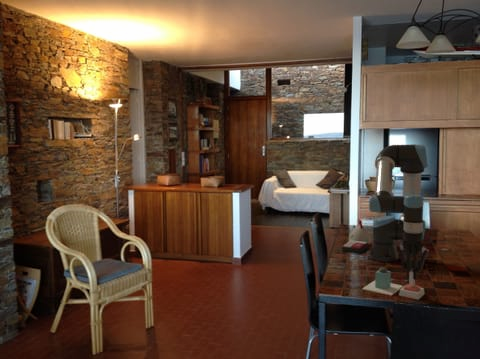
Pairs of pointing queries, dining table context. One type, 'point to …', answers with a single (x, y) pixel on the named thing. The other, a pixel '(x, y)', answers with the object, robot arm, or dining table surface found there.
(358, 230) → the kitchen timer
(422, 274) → the dining table surface
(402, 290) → the button base
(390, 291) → the note pad
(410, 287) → the button
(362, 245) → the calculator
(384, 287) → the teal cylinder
